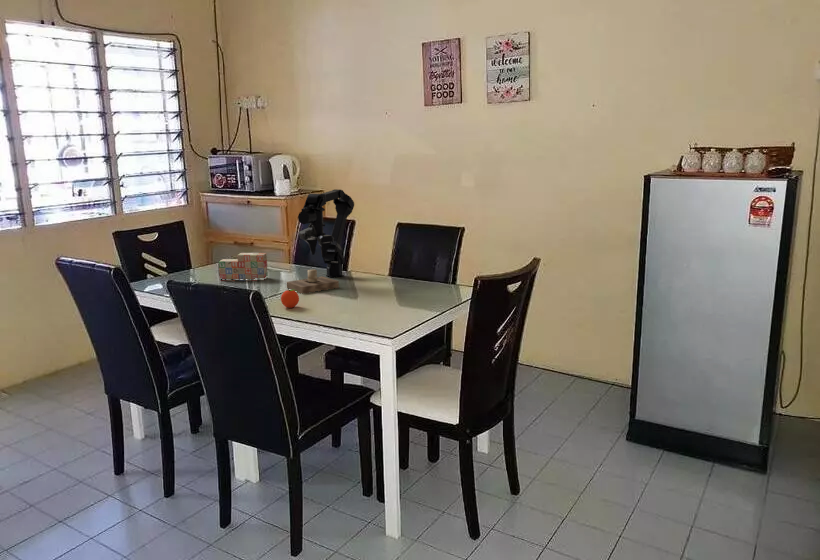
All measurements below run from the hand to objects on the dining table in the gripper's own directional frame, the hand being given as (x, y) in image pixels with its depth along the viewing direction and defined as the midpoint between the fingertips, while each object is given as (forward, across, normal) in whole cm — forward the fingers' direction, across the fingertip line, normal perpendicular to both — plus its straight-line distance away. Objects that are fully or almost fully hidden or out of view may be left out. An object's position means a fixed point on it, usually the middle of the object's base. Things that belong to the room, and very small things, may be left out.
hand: (318, 256), depth 296 cm
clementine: (+12, +34, -32) cm, 48 cm away
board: (+12, +10, -9) cm, 18 cm away
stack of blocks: (+12, -29, -24) cm, 40 cm away
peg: (+12, +10, -9) cm, 18 cm away
